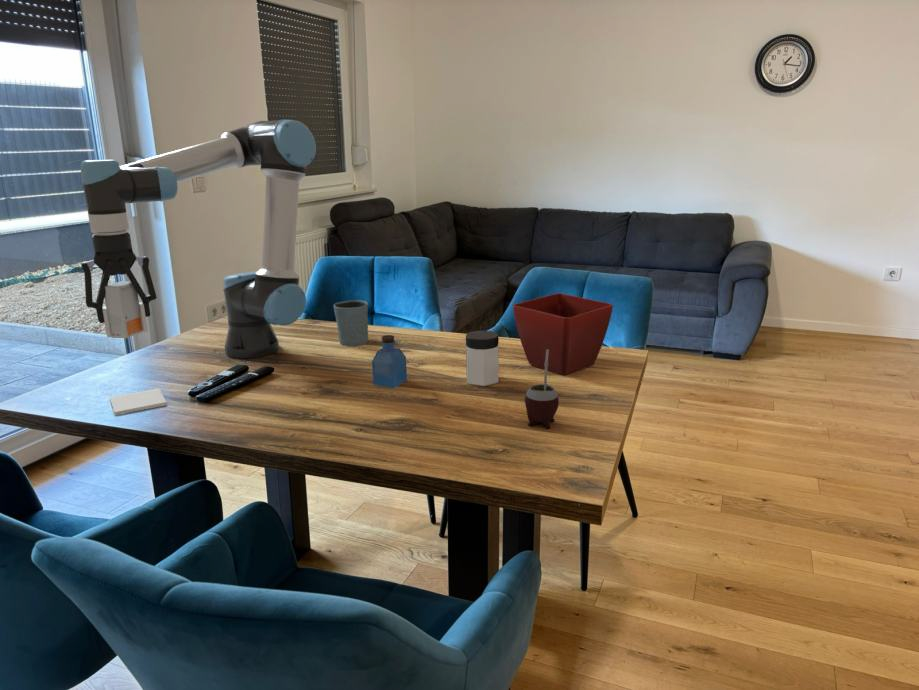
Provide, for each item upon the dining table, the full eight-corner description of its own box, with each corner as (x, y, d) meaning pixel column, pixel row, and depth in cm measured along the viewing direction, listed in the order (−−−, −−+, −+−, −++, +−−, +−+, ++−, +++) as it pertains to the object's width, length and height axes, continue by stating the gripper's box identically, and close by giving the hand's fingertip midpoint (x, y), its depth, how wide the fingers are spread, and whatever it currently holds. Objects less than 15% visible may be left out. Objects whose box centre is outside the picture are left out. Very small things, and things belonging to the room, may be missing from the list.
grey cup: (367, 347, 199) (364, 307, 195) (333, 347, 199) (330, 308, 195) (372, 337, 208) (369, 299, 205) (339, 337, 208) (336, 300, 205)
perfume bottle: (406, 379, 171) (404, 334, 167) (394, 387, 166) (392, 341, 162) (386, 376, 173) (383, 332, 170) (373, 384, 168) (370, 338, 165)
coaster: (159, 391, 166) (159, 388, 166) (166, 405, 157) (166, 401, 157) (110, 400, 161) (109, 397, 160) (114, 415, 152) (114, 412, 151)
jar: (500, 386, 165) (500, 339, 162) (467, 387, 165) (466, 340, 162) (497, 374, 174) (497, 329, 170) (465, 374, 174) (465, 330, 170)
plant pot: (565, 382, 167) (567, 317, 162) (510, 365, 181) (510, 304, 176) (611, 365, 179) (615, 304, 174) (557, 350, 193) (558, 292, 188)
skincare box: (127, 339, 151) (118, 286, 147) (110, 338, 152) (101, 286, 148) (144, 331, 156) (136, 281, 153) (128, 331, 157) (120, 280, 154)
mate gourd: (535, 432, 139) (536, 364, 135) (517, 419, 146) (517, 353, 142) (565, 426, 142) (568, 359, 137) (546, 413, 149) (548, 348, 144)
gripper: (156, 227, 155) (170, 323, 162) (58, 234, 145) (77, 336, 152) (161, 230, 149) (176, 330, 156) (59, 238, 139) (79, 344, 146)
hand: (127, 333), depth 154 cm, fingers closed on skincare box, 7 cm apart
